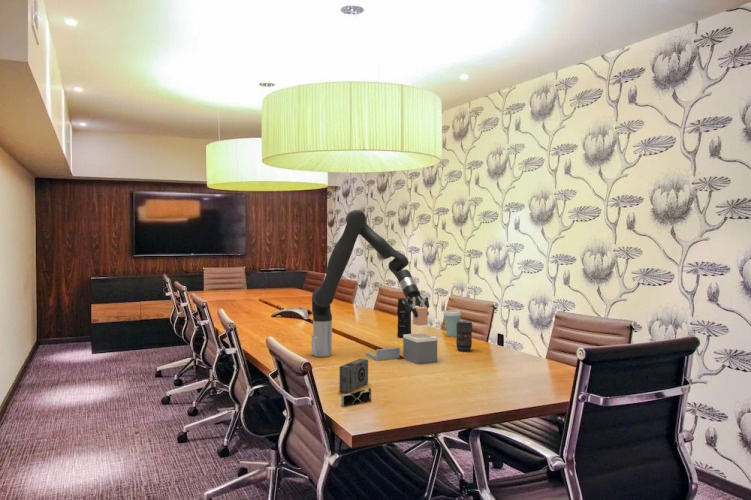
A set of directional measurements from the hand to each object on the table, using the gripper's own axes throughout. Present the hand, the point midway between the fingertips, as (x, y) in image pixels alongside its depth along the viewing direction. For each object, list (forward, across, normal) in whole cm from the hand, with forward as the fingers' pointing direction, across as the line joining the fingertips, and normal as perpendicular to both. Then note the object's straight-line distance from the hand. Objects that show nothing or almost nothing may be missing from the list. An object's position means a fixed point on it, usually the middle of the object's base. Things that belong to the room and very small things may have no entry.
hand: (422, 316), depth 253 cm
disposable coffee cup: (-19, +50, +49) cm, 73 cm away
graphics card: (+48, -55, -18) cm, 75 cm away
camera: (+35, -48, -5) cm, 60 cm away
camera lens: (+7, +32, +23) cm, 40 cm away
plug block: (+2, 0, +4) cm, 5 cm away
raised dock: (+14, 0, +16) cm, 21 cm away
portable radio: (-25, +22, +55) cm, 65 cm away
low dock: (+4, -13, +26) cm, 29 cm away
